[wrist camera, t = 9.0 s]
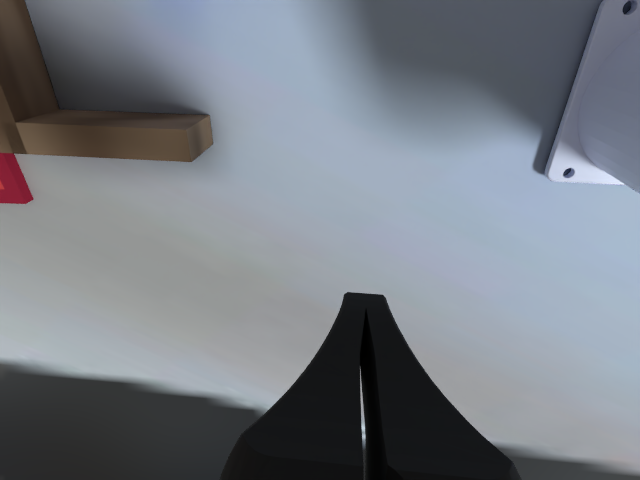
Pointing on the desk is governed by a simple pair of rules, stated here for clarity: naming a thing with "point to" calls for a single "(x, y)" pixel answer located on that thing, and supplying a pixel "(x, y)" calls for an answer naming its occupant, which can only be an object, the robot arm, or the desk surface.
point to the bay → (78, 111)
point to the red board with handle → (12, 181)
